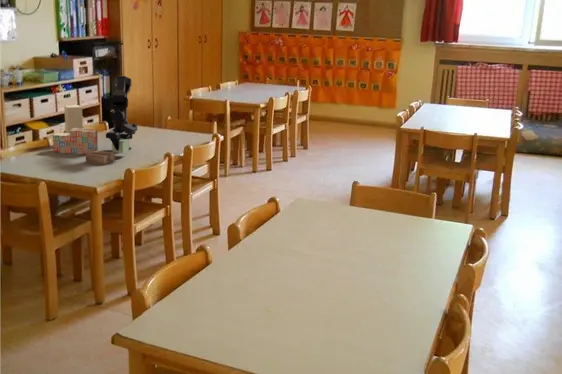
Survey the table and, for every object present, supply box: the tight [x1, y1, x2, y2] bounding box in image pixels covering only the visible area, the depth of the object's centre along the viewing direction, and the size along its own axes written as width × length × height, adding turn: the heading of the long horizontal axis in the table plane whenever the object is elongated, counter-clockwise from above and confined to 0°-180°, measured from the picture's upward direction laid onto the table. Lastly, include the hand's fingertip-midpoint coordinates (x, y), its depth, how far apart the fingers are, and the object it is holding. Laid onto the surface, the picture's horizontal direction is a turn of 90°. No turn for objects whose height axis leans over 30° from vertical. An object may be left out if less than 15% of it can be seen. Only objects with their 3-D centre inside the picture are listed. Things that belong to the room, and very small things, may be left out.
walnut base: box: [85, 150, 116, 166], centre depth 300 cm, size 10×10×4 cm
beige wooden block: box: [63, 104, 84, 134], centre depth 328 cm, size 8×7×21 cm
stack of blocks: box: [52, 128, 99, 155], centre depth 314 cm, size 21×6×12 cm, turn 89°
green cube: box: [111, 139, 130, 154], centre depth 310 cm, size 6×6×6 cm
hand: (120, 148), depth 310 cm, fingers closed on green cube, 6 cm apart
